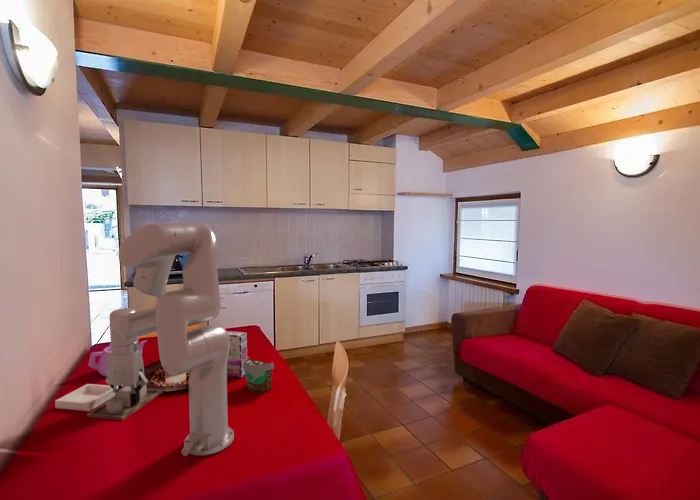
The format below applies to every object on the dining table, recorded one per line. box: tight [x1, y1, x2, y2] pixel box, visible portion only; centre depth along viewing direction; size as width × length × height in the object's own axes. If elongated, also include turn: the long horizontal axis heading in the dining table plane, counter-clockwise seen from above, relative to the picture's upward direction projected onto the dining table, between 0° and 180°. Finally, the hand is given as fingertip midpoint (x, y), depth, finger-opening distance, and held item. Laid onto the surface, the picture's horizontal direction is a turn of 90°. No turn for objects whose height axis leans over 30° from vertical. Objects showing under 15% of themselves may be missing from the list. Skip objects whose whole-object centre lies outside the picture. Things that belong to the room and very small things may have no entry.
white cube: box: [129, 384, 148, 398], centre depth 123 cm, size 4×4×4 cm
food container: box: [243, 356, 275, 394], centre depth 129 cm, size 12×6×10 cm, turn 62°
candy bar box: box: [226, 330, 248, 379], centre depth 142 cm, size 11×5×16 cm, turn 76°
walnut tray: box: [86, 388, 163, 421], centre depth 118 cm, size 18×12×1 cm, turn 172°
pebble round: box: [105, 397, 123, 415], centre depth 112 cm, size 4×4×4 cm
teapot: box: [87, 339, 148, 378], centre depth 144 cm, size 13×20×11 cm
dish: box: [54, 383, 115, 412], centre depth 120 cm, size 12×12×3 cm
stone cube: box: [115, 386, 136, 407], centre depth 118 cm, size 4×4×4 cm
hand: (127, 402), depth 118 cm, fingers closed on stone cube, 4 cm apart
